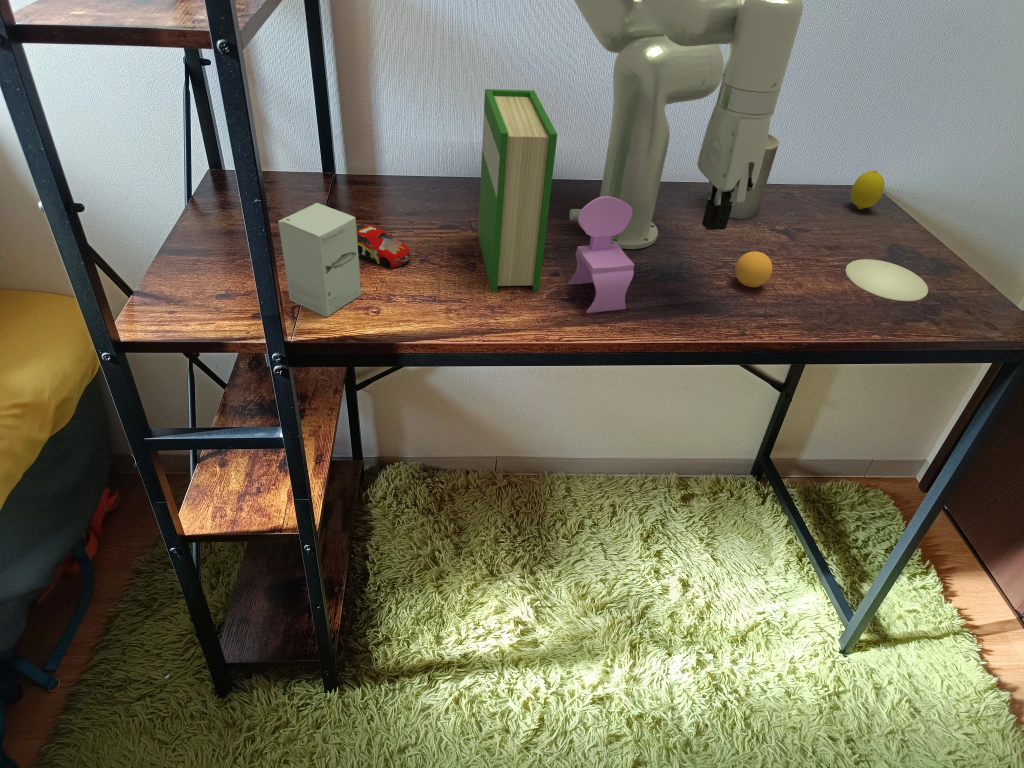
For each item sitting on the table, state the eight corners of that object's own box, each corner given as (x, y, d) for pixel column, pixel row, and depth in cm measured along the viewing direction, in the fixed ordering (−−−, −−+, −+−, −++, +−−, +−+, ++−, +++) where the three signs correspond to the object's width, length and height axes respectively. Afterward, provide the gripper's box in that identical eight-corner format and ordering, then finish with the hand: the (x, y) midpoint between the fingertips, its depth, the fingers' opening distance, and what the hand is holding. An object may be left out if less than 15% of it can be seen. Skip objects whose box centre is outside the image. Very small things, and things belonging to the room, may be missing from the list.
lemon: (869, 204, 140) (885, 166, 134) (877, 217, 135) (895, 177, 130) (841, 201, 140) (857, 163, 135) (849, 213, 135) (865, 174, 130)
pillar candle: (731, 194, 139) (752, 118, 129) (768, 214, 132) (793, 136, 123) (695, 202, 134) (714, 125, 125) (731, 224, 128) (754, 144, 119)
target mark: (873, 302, 110) (873, 301, 110) (830, 261, 120) (831, 260, 120) (944, 299, 112) (945, 298, 112) (897, 259, 122) (897, 258, 122)
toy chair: (581, 315, 101) (596, 221, 92) (561, 284, 108) (574, 193, 98) (633, 310, 103) (653, 217, 94) (610, 279, 110) (627, 190, 100)
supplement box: (327, 319, 96) (317, 236, 88) (288, 300, 99) (275, 219, 91) (363, 296, 101) (357, 216, 93) (325, 279, 104) (316, 200, 96)
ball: (739, 294, 109) (750, 263, 105) (725, 275, 113) (734, 245, 110) (772, 293, 110) (783, 262, 106) (756, 274, 114) (767, 244, 111)
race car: (417, 261, 110) (417, 238, 108) (395, 274, 107) (395, 251, 104) (354, 235, 115) (352, 212, 113) (331, 247, 112) (329, 224, 109)
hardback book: (539, 291, 105) (557, 134, 90) (491, 292, 104) (501, 133, 89) (521, 235, 119) (534, 90, 103) (478, 235, 118) (484, 89, 102)
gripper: (698, 82, 96) (672, 206, 108) (745, 117, 85) (709, 252, 96) (748, 82, 98) (716, 205, 109) (801, 117, 86) (759, 250, 98)
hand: (713, 227), depth 103 cm, fingers closed
